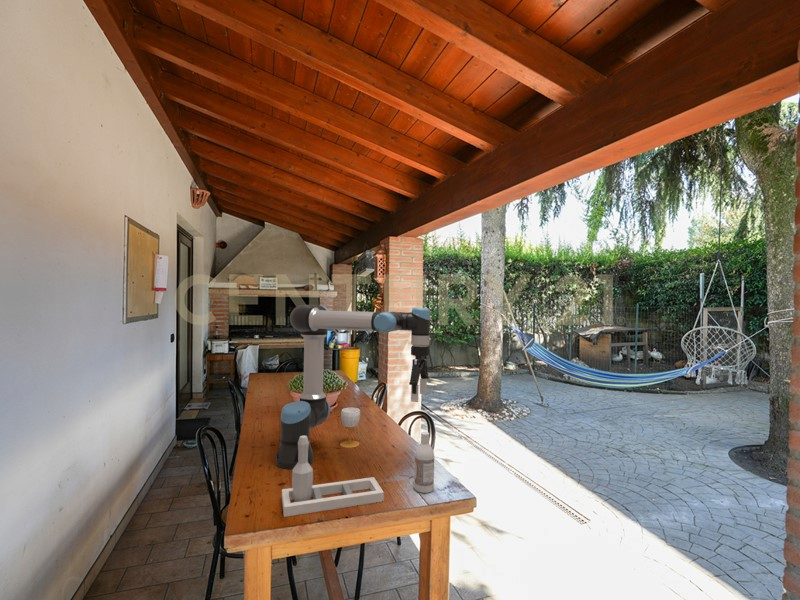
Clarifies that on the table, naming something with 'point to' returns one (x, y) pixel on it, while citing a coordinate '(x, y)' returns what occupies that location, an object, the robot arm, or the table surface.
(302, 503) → the white rectangular compartment rack
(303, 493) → the low poly bottle
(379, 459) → the table surface
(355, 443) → the cup
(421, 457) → the bath foam
